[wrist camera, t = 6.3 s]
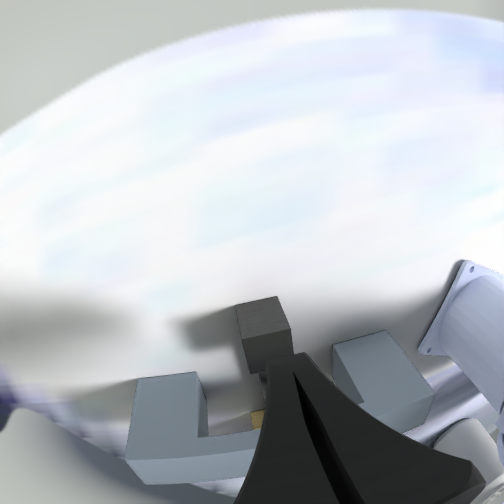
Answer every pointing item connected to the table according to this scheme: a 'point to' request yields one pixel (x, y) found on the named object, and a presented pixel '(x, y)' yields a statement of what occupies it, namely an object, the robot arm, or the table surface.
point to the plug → (263, 340)
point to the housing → (244, 443)
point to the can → (475, 455)
